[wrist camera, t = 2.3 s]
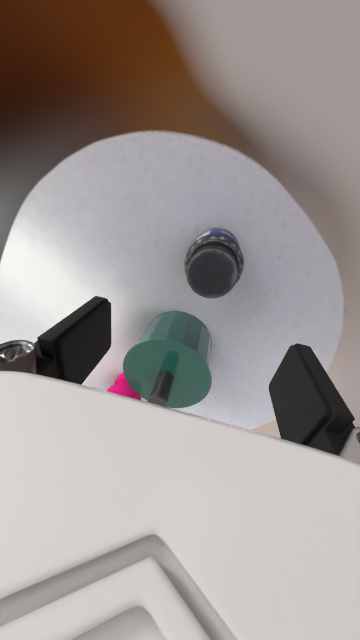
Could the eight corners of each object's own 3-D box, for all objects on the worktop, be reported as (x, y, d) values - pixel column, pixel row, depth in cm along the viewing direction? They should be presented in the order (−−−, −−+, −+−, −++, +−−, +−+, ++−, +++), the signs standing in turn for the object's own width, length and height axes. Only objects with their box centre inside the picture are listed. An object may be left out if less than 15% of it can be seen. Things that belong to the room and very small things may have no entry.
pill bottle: (248, 254, 28) (261, 280, 18) (212, 282, 30) (207, 317, 21) (219, 216, 26) (217, 222, 17) (184, 249, 29) (165, 270, 19)
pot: (218, 320, 33) (217, 353, 26) (202, 372, 39) (198, 411, 32) (149, 304, 34) (129, 331, 27) (144, 357, 40) (126, 391, 33)
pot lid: (222, 348, 26) (222, 380, 21) (200, 410, 33) (196, 446, 28) (127, 324, 27) (107, 350, 22) (124, 389, 34) (108, 421, 29)
